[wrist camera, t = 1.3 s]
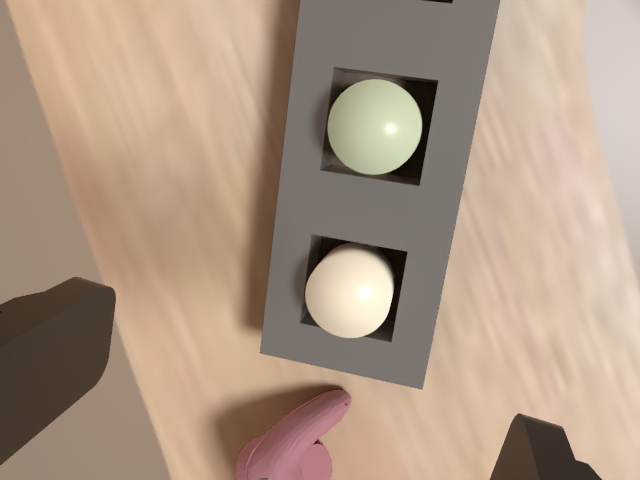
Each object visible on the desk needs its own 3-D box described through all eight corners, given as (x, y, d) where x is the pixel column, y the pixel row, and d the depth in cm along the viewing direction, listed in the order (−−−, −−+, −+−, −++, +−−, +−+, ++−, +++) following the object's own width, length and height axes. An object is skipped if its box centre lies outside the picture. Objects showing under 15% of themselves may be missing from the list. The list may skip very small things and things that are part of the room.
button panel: (424, 364, 27) (422, 389, 24) (275, 332, 28) (259, 353, 26) (525, -148, 21) (536, -181, 19) (334, -159, 23) (321, -191, 20)
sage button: (414, 174, 24) (412, 181, 21) (333, 161, 24) (321, 167, 22) (429, 88, 23) (428, 85, 20) (344, 77, 23) (334, 73, 21)
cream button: (388, 324, 25) (383, 346, 23) (312, 309, 26) (300, 328, 24) (401, 250, 24) (397, 264, 22) (323, 236, 25) (311, 248, 23)
